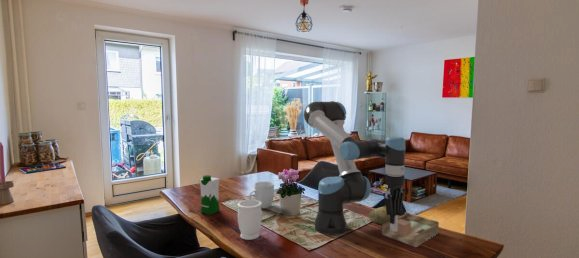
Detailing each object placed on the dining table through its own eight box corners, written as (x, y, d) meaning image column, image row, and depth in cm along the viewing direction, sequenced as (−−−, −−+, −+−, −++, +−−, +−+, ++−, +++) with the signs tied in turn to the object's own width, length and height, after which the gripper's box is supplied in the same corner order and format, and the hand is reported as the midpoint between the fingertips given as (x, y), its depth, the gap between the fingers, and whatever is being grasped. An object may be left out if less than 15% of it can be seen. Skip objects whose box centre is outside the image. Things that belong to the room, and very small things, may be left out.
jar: (239, 242, 129) (238, 208, 128) (236, 232, 139) (236, 200, 138) (264, 239, 132) (263, 205, 131) (259, 229, 142) (259, 198, 141)
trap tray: (381, 234, 137) (382, 222, 137) (405, 222, 150) (405, 212, 150) (416, 247, 125) (416, 234, 125) (438, 233, 138) (438, 221, 137)
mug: (253, 212, 164) (253, 188, 163) (245, 206, 173) (244, 184, 172) (277, 207, 172) (277, 184, 170) (268, 202, 181) (268, 180, 180)
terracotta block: (393, 232, 133) (394, 221, 133) (399, 229, 136) (400, 218, 136) (404, 236, 129) (404, 225, 129) (410, 233, 133) (410, 222, 132)
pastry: (403, 223, 150) (404, 207, 149) (385, 229, 143) (386, 212, 143) (381, 214, 162) (381, 199, 161) (364, 219, 155) (364, 203, 155)
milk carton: (198, 213, 163) (197, 176, 161) (209, 207, 171) (208, 172, 169) (211, 215, 159) (210, 178, 157) (222, 210, 167) (221, 174, 166)
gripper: (394, 178, 118) (393, 237, 120) (411, 173, 127) (410, 228, 129) (377, 175, 124) (376, 231, 126) (395, 170, 132) (393, 223, 134)
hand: (393, 230), depth 127 cm, fingers closed
